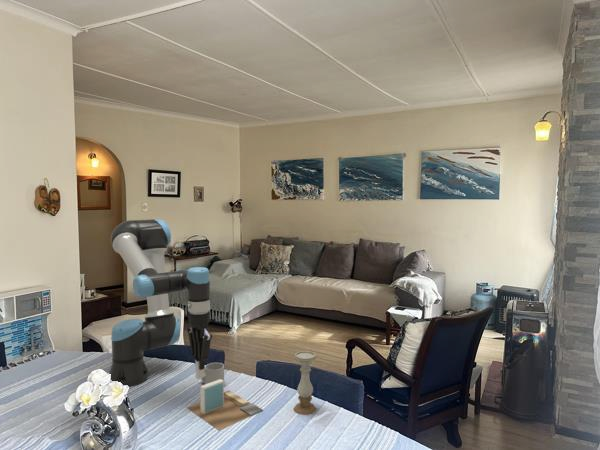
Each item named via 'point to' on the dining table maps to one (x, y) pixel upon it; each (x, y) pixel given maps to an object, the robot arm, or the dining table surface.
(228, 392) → the turner
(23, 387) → the dining table surface
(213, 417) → the board
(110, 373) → the robot arm
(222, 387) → the tile
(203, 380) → the cup
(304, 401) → the candle holder
